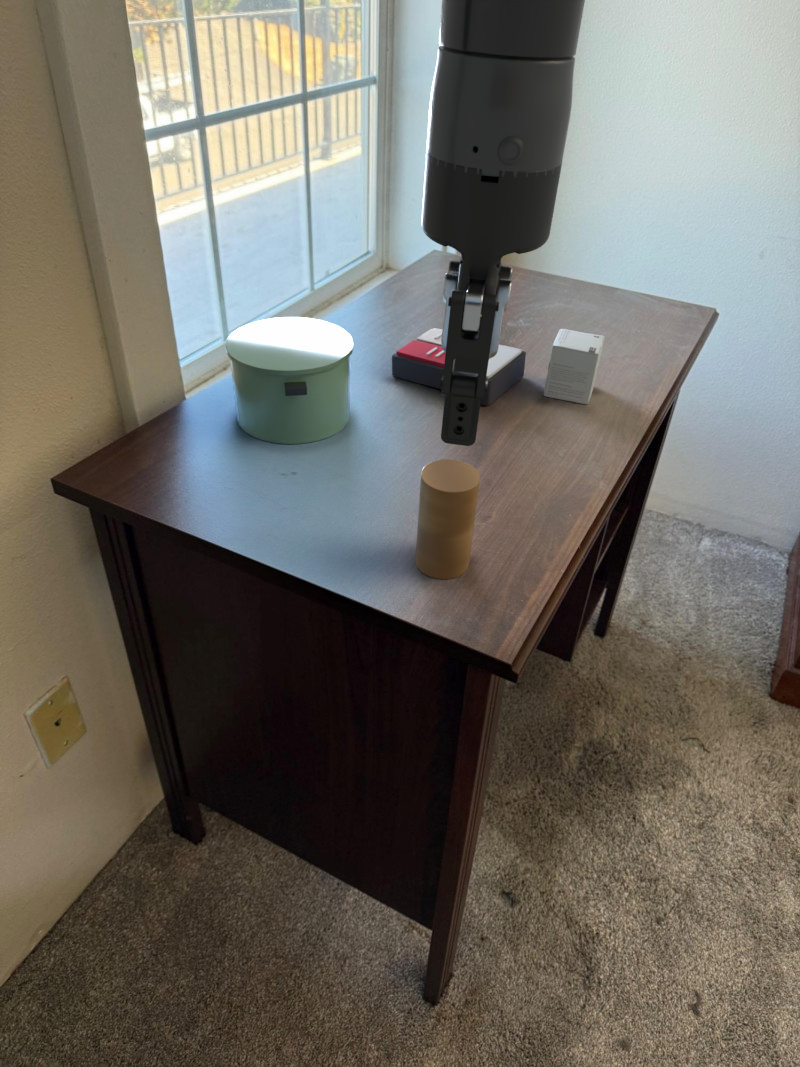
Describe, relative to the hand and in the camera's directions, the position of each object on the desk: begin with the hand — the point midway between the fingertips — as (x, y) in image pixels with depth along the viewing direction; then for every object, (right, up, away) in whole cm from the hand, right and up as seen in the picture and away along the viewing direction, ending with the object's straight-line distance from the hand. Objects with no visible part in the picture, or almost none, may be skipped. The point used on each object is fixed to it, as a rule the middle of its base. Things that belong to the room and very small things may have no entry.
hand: (463, 410), depth 51 cm
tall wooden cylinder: (0, -11, +21) cm, 24 cm away
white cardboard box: (+19, +11, +50) cm, 54 cm away
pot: (-17, +6, +42) cm, 46 cm away
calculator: (+4, +13, +52) cm, 54 cm away
